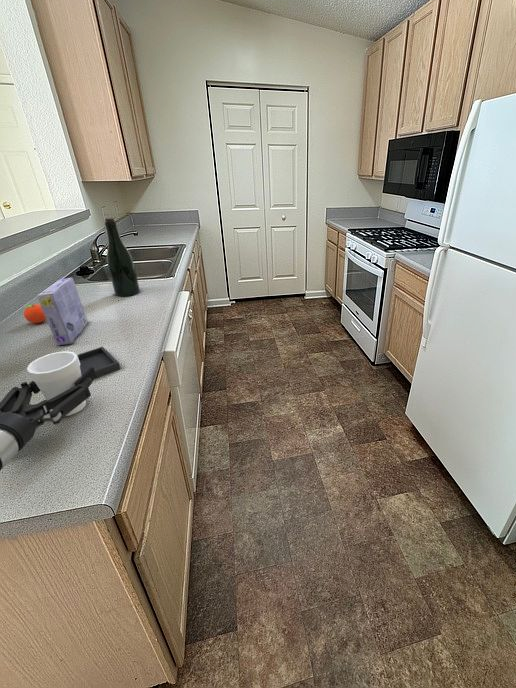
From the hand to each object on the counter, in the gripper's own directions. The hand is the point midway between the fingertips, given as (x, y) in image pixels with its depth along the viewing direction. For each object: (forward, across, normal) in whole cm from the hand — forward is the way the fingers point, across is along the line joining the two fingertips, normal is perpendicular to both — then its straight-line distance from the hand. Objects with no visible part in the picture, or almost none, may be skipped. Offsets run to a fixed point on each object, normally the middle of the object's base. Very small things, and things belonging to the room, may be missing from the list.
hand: (72, 372), depth 81 cm
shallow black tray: (+13, -6, -7) cm, 16 cm away
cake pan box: (+36, -23, -7) cm, 43 cm away
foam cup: (-4, 0, -7) cm, 9 cm away
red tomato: (+45, -42, -7) cm, 62 cm away
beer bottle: (+76, -23, -7) cm, 80 cm away
